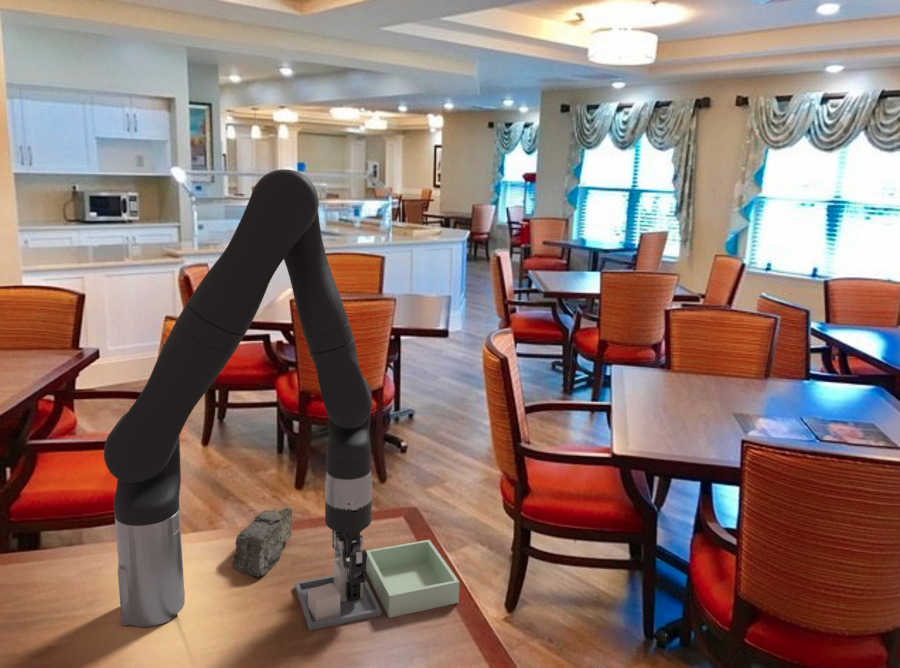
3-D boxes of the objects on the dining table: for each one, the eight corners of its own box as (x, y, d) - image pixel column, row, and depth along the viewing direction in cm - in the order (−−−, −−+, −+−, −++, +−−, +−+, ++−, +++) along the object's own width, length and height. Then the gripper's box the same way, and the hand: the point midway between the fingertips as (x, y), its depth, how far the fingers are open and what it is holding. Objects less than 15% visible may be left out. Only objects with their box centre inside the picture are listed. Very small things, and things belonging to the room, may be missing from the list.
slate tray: (309, 633, 109) (309, 625, 108) (295, 590, 120) (295, 582, 119) (381, 618, 113) (381, 610, 113) (361, 577, 124) (361, 570, 124)
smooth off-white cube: (316, 624, 110) (316, 601, 109) (308, 612, 113) (307, 589, 112) (340, 616, 112) (340, 594, 111) (331, 604, 115) (331, 582, 114)
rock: (242, 510, 136) (293, 498, 136) (252, 541, 138) (302, 529, 138) (219, 555, 120) (276, 541, 120) (231, 590, 121) (287, 577, 121)
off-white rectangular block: (339, 602, 116) (339, 569, 114) (333, 588, 119) (333, 556, 118) (362, 597, 117) (363, 565, 116) (356, 584, 121) (356, 552, 119)
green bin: (388, 620, 113) (389, 596, 112) (365, 573, 125) (365, 550, 124) (458, 605, 117) (459, 581, 116) (428, 561, 130) (429, 539, 129)
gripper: (316, 480, 119) (316, 569, 123) (336, 520, 106) (336, 618, 110) (359, 474, 122) (358, 561, 126) (384, 513, 109) (382, 608, 113)
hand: (348, 587), depth 118 cm, fingers open, 6 cm apart
